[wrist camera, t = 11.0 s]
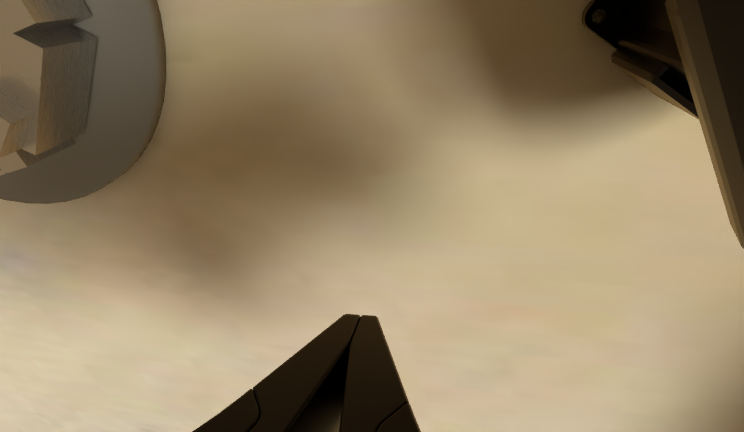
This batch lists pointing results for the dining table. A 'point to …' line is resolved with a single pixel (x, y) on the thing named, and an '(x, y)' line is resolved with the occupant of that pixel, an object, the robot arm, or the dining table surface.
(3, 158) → the grey stone ring wall
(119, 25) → the grey stone circle model
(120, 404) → the dining table surface
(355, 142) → the dining table surface
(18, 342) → the dining table surface
